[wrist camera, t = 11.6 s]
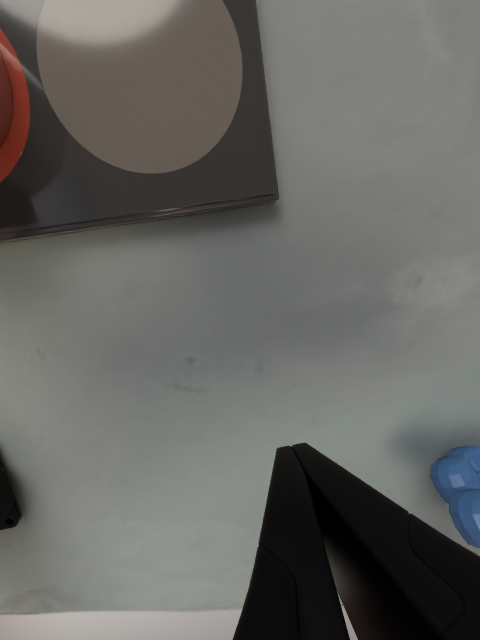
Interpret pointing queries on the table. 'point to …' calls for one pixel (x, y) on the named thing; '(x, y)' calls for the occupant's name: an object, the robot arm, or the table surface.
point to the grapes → (461, 489)
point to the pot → (4, 102)
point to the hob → (131, 113)
